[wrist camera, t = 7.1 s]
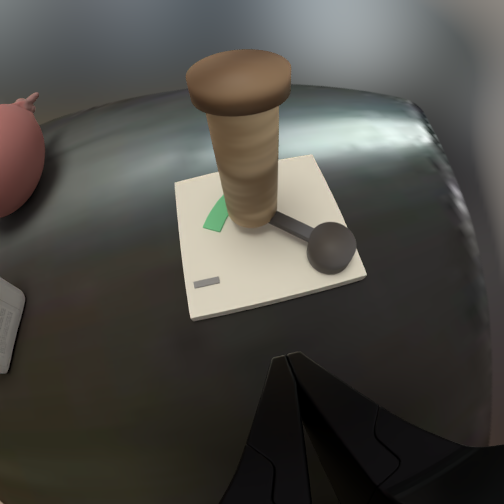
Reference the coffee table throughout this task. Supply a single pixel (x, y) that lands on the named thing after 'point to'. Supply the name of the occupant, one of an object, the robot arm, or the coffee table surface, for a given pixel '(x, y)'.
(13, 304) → the photo printer
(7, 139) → the balloon
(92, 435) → the coffee table surface
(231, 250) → the dial board
